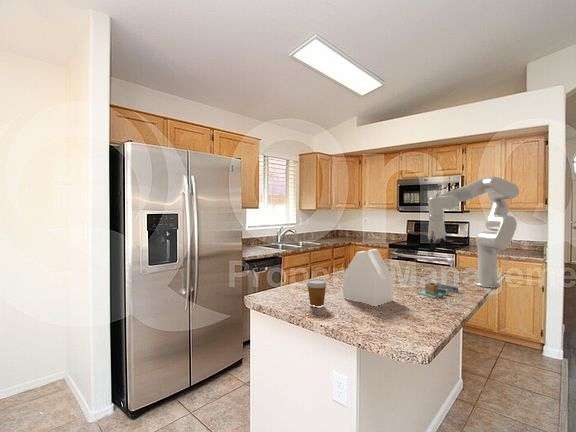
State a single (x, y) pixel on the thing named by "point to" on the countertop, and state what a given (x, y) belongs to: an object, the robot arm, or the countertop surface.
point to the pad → (429, 294)
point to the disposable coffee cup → (316, 291)
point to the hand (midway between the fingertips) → (438, 248)
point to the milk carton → (368, 279)
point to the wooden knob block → (431, 288)
